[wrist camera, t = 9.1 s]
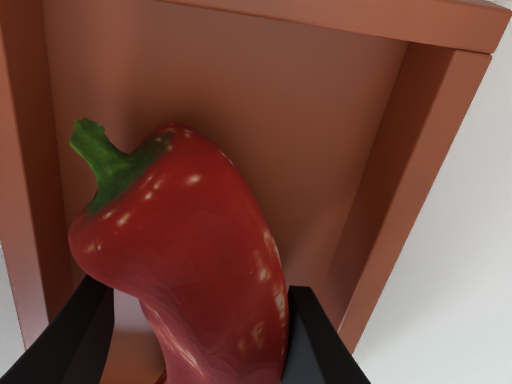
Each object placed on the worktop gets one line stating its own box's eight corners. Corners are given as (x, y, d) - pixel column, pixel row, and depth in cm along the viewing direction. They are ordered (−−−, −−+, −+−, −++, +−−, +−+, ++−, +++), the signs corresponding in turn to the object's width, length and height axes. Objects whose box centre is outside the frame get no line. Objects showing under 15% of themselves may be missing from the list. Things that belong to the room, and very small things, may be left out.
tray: (291, 409, 19) (299, 467, 17) (70, 403, 18) (50, 466, 16) (455, -13, 9) (516, 10, 8) (-4, -95, 8) (-78, -95, 6)
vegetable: (-89, 187, 7) (136, 441, 15) (213, 231, 5) (283, 487, 13) (73, 60, 10) (187, 326, 18) (293, 66, 8) (311, 354, 16)
